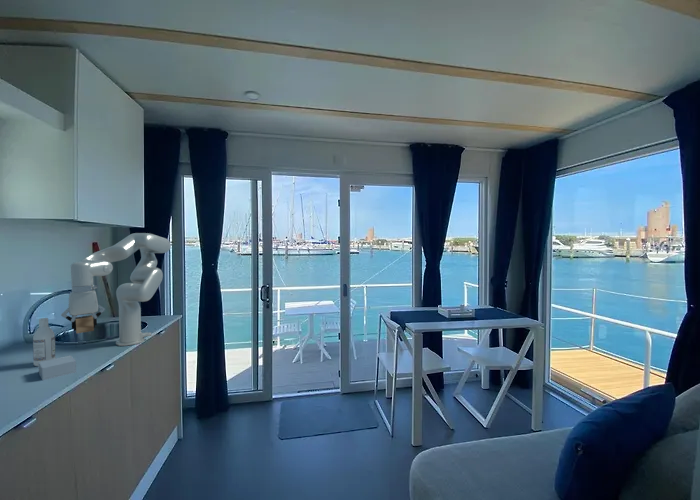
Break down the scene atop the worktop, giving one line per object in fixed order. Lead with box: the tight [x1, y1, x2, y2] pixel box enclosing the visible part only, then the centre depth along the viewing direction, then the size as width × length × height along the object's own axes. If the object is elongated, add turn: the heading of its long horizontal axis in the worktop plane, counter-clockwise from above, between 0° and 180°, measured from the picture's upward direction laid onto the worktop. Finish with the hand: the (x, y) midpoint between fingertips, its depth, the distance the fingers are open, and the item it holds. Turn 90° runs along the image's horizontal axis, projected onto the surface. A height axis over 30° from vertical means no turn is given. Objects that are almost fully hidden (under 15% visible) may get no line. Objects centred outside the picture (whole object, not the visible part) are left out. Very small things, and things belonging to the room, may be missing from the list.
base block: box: [38, 355, 77, 381], centre depth 131 cm, size 10×10×5 cm
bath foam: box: [32, 317, 56, 367], centre depth 141 cm, size 7×7×20 cm
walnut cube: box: [75, 314, 95, 334], centre depth 145 cm, size 6×6×6 cm
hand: (84, 328), depth 145 cm, fingers closed on walnut cube, 6 cm apart
